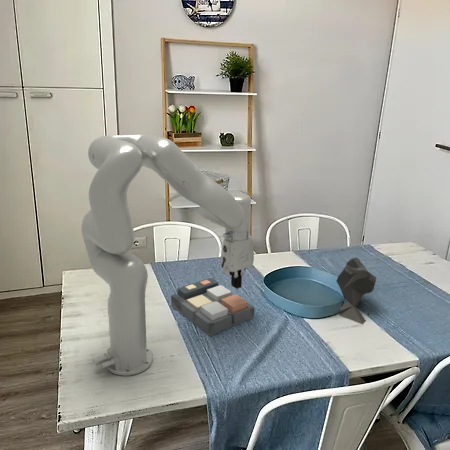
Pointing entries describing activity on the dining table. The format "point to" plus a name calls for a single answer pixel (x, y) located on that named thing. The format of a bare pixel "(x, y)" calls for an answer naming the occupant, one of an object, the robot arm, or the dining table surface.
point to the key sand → (198, 301)
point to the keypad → (195, 315)
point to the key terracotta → (234, 303)
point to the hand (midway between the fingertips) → (236, 286)
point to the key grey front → (214, 311)
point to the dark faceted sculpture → (354, 288)
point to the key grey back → (218, 293)
